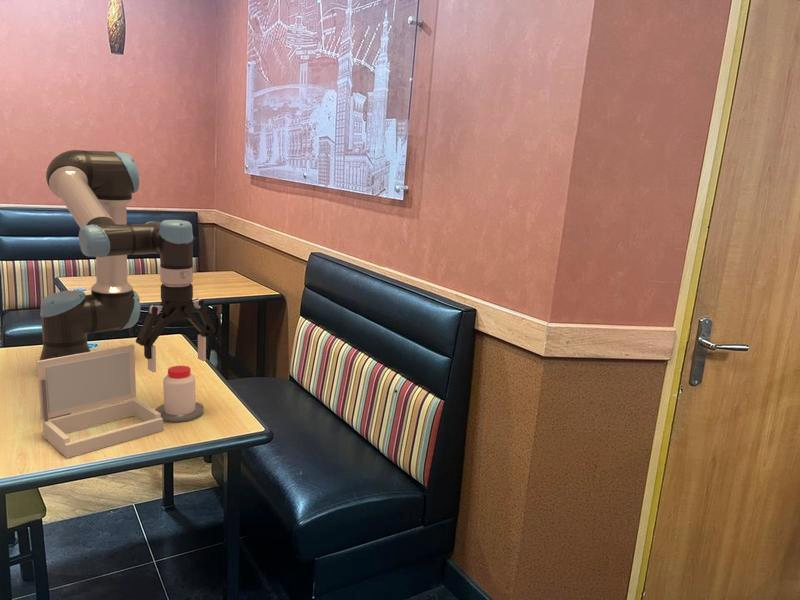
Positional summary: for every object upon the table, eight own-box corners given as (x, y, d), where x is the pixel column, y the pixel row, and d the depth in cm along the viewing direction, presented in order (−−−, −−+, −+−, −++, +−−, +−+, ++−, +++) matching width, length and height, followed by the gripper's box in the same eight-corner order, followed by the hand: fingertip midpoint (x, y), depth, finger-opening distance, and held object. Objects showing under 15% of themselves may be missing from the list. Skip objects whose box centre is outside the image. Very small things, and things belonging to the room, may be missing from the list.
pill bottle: (185, 417, 158) (184, 375, 156) (157, 412, 160) (156, 371, 157) (201, 405, 166) (200, 366, 163) (174, 402, 167) (173, 362, 165)
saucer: (146, 412, 162) (145, 408, 162) (188, 400, 171) (188, 397, 171) (169, 426, 155) (169, 423, 154) (212, 414, 163) (212, 410, 163)
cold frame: (42, 435, 146) (36, 361, 142) (135, 411, 162) (132, 344, 158) (67, 458, 136) (62, 378, 132) (163, 430, 152) (161, 358, 148)
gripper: (134, 292, 144) (136, 379, 149) (229, 281, 162) (228, 359, 167) (119, 286, 149) (122, 370, 154) (213, 275, 167) (213, 351, 172)
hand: (177, 365), depth 160 cm, fingers open, 13 cm apart
